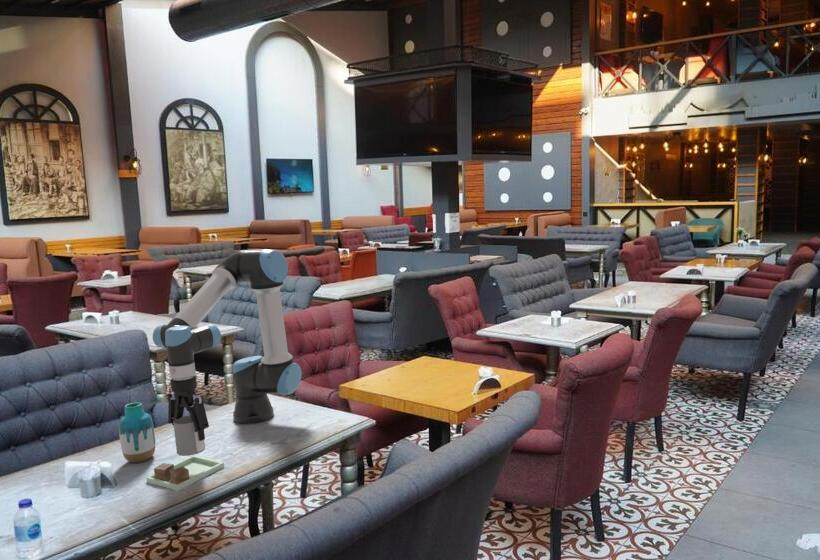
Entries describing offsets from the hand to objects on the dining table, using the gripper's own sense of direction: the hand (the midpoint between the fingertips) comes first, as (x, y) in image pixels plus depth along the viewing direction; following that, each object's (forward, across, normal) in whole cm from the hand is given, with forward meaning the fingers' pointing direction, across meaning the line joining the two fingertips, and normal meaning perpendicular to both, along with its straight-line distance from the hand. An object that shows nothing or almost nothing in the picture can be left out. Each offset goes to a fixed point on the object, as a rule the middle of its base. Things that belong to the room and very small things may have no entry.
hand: (191, 447), depth 207 cm
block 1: (+8, -4, -8) cm, 11 cm away
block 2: (+8, +4, -8) cm, 11 cm away
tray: (+8, 0, -3) cm, 9 cm away
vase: (+8, -25, -1) cm, 26 cm away
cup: (+1, 0, 0) cm, 1 cm away
